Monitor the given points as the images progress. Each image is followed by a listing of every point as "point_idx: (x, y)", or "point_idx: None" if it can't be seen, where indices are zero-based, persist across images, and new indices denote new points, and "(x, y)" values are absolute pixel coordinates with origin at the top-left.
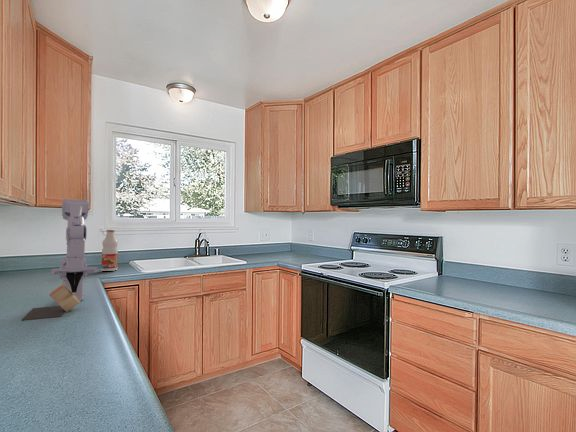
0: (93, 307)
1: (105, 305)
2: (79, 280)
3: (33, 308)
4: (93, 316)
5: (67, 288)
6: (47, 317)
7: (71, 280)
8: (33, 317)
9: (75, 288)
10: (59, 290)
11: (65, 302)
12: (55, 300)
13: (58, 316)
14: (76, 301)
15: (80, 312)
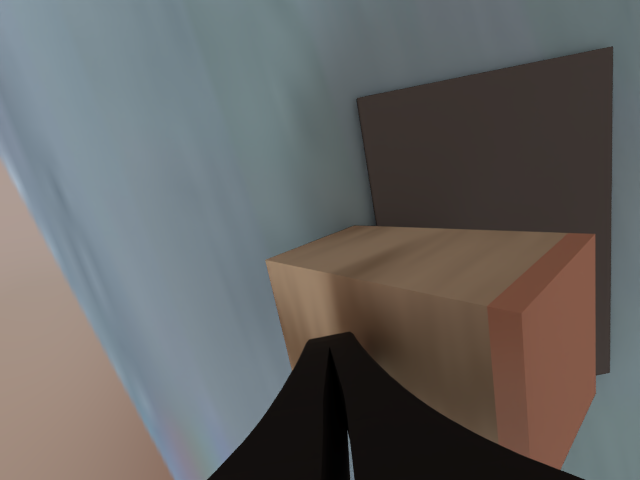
0: (203, 329)
1: (134, 370)
2: (219, 469)
3: (604, 362)
4: (94, 39)
5: (430, 389)
6: (446, 81)
7: (397, 441)
8: (545, 97)
9: (311, 360)
10: (508, 274)
11: (380, 241)
12: (478, 232)
13: (373, 96)
14: (288, 259)
15: (249, 199)
